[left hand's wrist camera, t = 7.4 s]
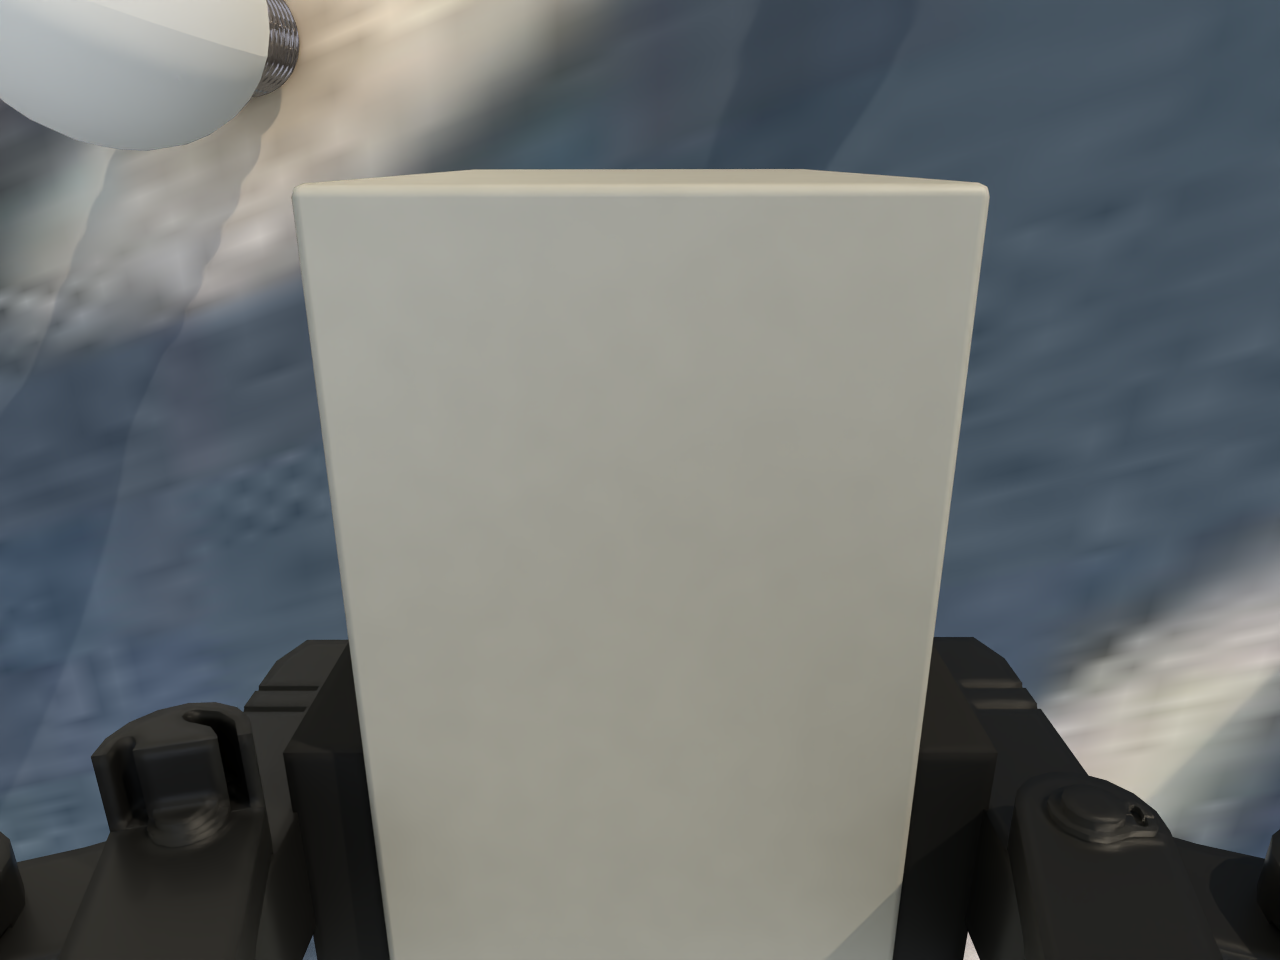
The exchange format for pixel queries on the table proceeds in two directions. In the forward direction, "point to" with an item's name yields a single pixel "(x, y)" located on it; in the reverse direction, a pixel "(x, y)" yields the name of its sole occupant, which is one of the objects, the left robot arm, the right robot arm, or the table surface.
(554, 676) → the post
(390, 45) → the table surface
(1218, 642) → the table surface
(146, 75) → the light bulb
